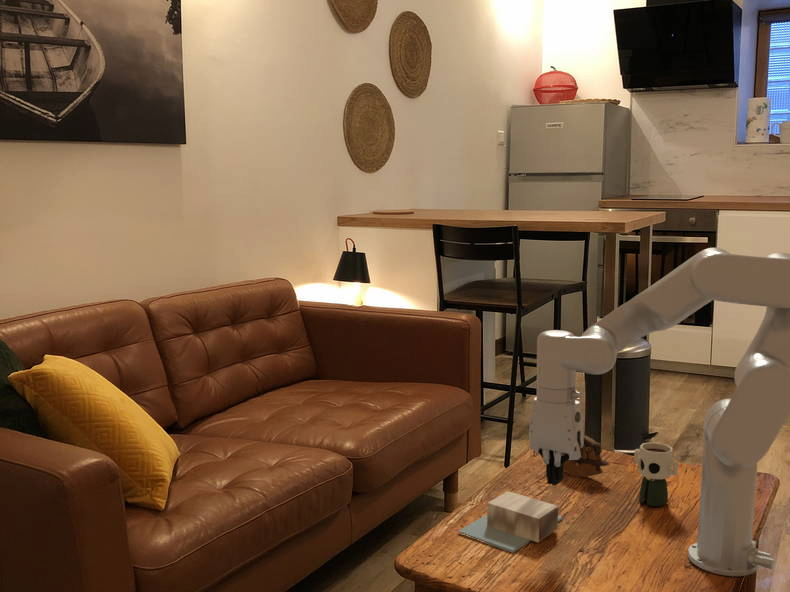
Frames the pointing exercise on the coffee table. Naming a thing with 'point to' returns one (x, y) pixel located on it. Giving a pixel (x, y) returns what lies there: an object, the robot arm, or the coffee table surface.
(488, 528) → the grey mat
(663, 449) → the character mug
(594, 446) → the wooden carving
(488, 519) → the birch block
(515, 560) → the coffee table surface
